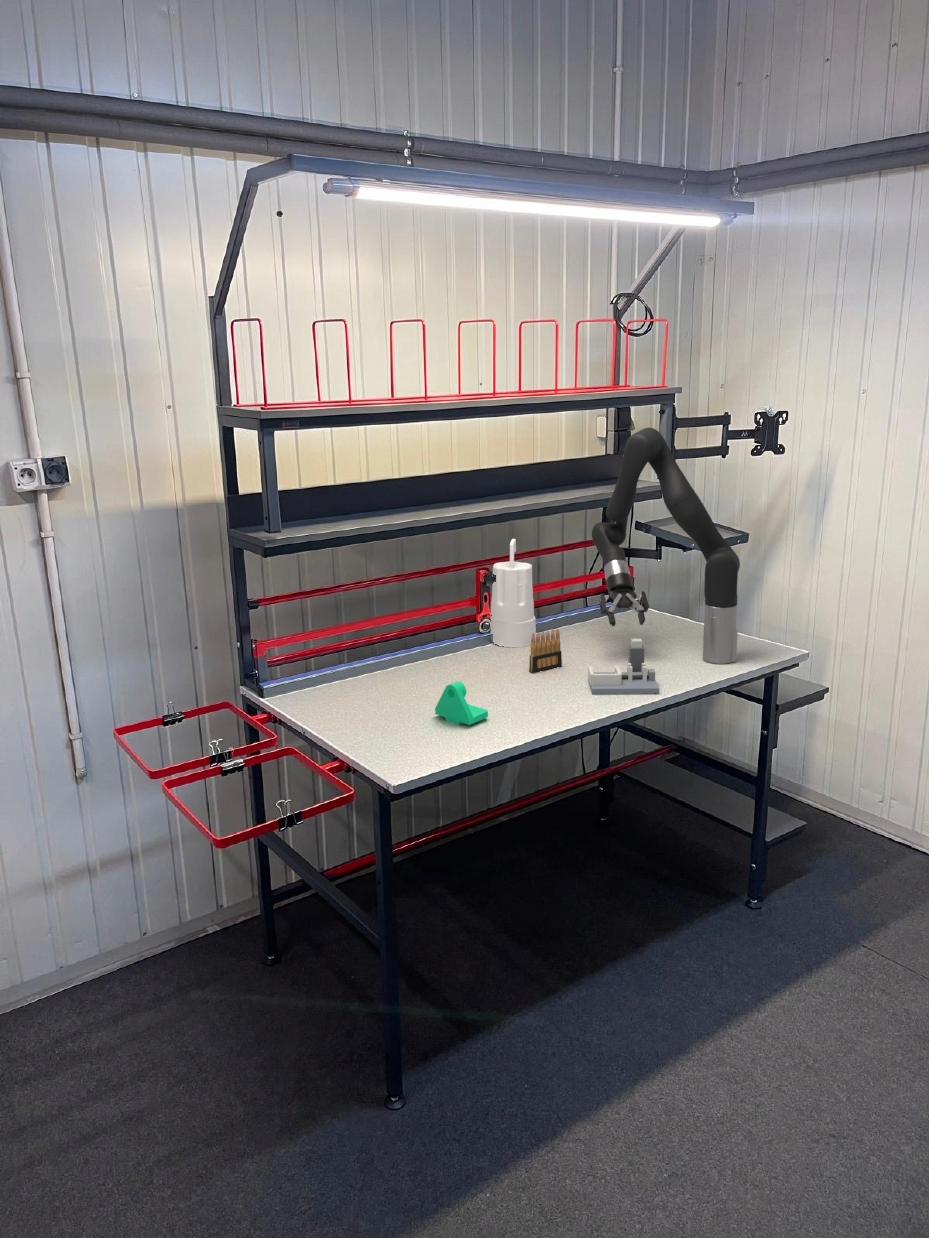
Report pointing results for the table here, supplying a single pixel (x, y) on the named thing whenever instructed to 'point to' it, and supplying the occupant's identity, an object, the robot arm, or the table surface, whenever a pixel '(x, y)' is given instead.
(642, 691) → the board
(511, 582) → the white tapered cylinder
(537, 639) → the ammunition clip
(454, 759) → the table surface
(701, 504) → the robot arm
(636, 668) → the block
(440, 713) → the camera mount
